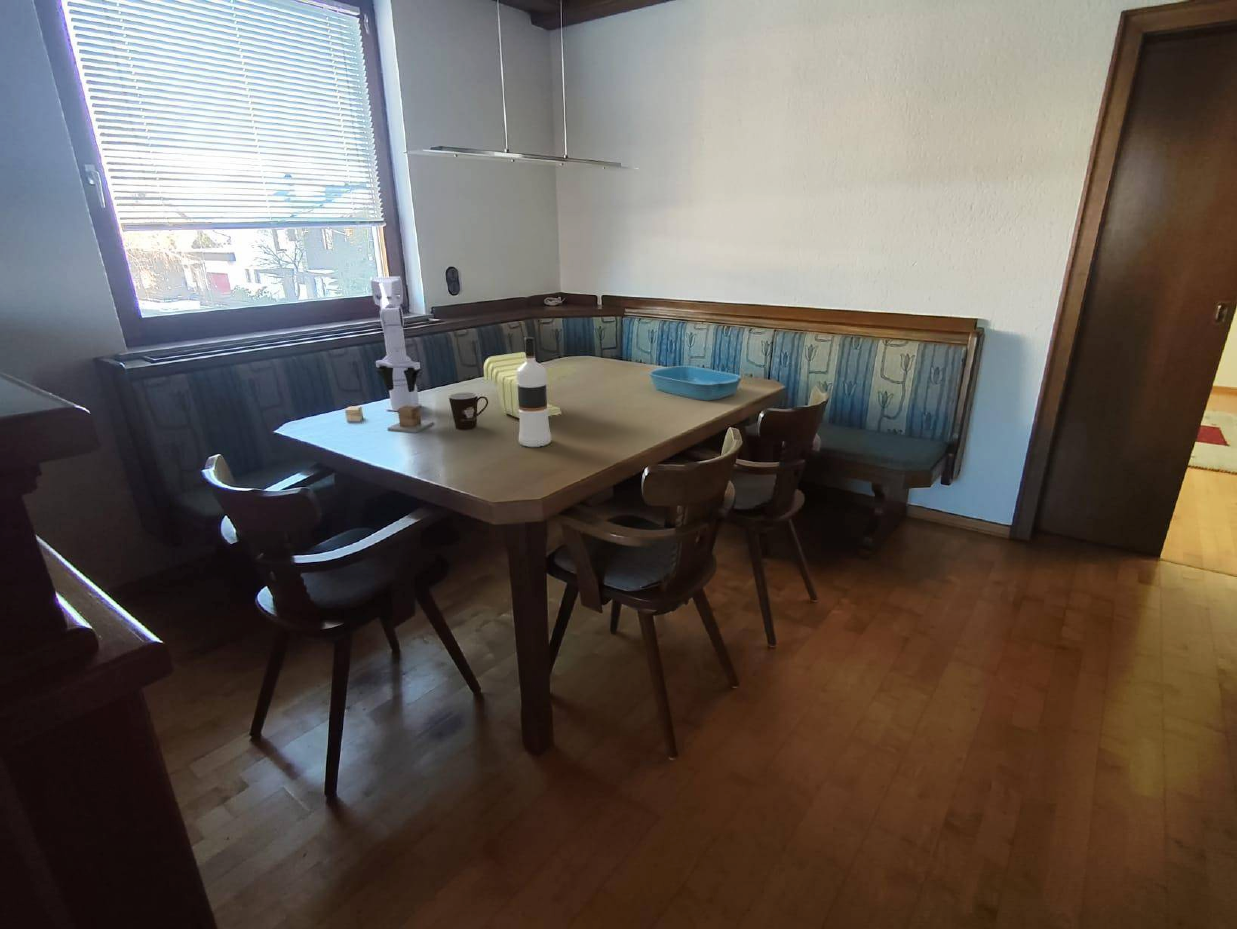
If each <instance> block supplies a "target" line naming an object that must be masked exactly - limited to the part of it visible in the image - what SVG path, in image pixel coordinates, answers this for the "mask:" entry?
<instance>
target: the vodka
mask: <svg viewBox="0 0 1237 929" xmlns="http://www.w3.org/2000/svg"><path fill="white" fill-rule="evenodd" d="M524 346H525V347H524V350H525V351H524V352H525V354H526V362H525V363H523V364H522V365H521V366H520V367H519V368H518V369H517V371H516V378H517V386H518V401H519V410H518V411H519V417H520V418H519V434H518V442H519V444H520V445H522V446H523V447H526V446H527V448H541V447H540V446H542V447H544V446H547V445H549V444H550V443H551V441H552V433H551V430H550V421H549V417H548V410H549V409H548V408H547V404H548V392H547V390H548V389H547V386H546V384H547V381H546V378H547V372H546V369H547V368H545V367H544V366H543V364H540V363H539V362H537V361H536V351H535V350H536V349H535V348H536V347H535V338H534V337H531V336H528V337H525V338H524Z"/></svg>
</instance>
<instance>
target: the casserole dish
mask: <svg viewBox="0 0 1237 929" xmlns="http://www.w3.org/2000/svg"><path fill="white" fill-rule="evenodd" d="M649 375H650V378H651V381H652V384H653V386H654V387H655V388H656V390H658V391H660V392H664V393H667V394H671V393H672V395H676V396H680V397H683V398H684V397H685V398H688V399H693V400H699V401H713V400H717V399H718V400H719V399H721V398H726V397H730V396H731V395H733V394H734V393H735V392H736V391H737V389H738V388H739V385H740V381H741V379H742V376H741V375H740V374H736V373H732V372H726V371H721V370H714V369H710V368H704V367H699V366H693V365H676V366H674V365H673V366H666V367H665V366H664V367H658V368H656V369H654V370H652V371H650V372H649Z"/></svg>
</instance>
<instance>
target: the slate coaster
mask: <svg viewBox="0 0 1237 929" xmlns="http://www.w3.org/2000/svg"><path fill="white" fill-rule="evenodd" d="M433 425H435V421H433V420H432V421H431V420H422V419H421V424H419V425H417V426H415V427H403V426H400V421H399V422H397V423H395V424H394V425H393V424H392V426H389V427H387V431H388V432H389V431H391V432H402V433H413V434H417V433H419V432H421V431H423V430H425V429H427V428H429V427H431V426H433Z"/></svg>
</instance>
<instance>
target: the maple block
mask: <svg viewBox="0 0 1237 929" xmlns="http://www.w3.org/2000/svg"><path fill="white" fill-rule="evenodd" d="M344 411H345V412H344V413H345V418H346V419H345V420H346V422H347V421H349V422H360V421H362V420H363V419H362V418H364V414H363V407H362V405H359V406H358V405H357V406H356V405H355V406H348V407H347V408H346V409H344Z"/></svg>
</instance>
